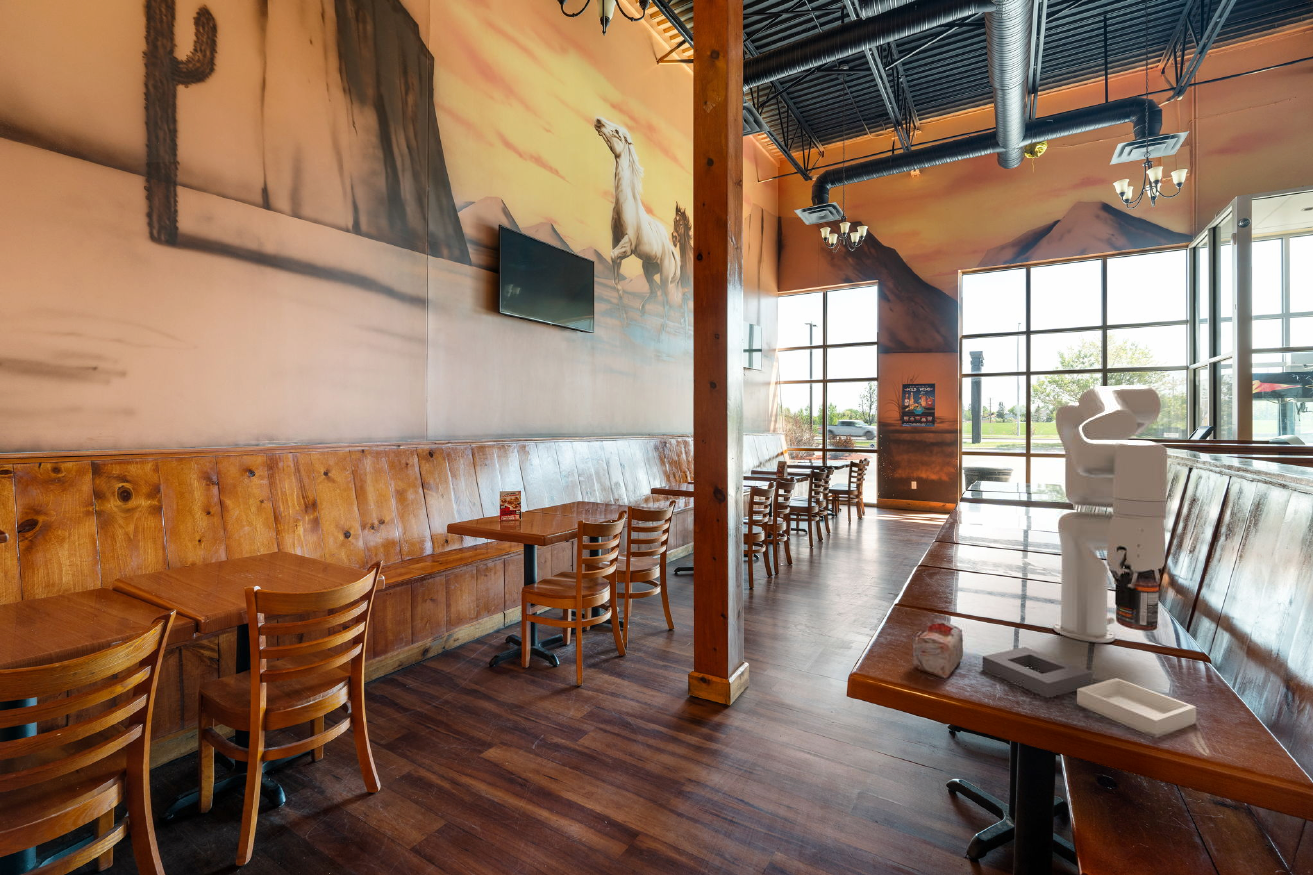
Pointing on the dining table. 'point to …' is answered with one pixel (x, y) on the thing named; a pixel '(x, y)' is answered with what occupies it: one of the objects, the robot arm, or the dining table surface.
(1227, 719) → the dining table surface
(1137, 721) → the tray
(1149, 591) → the supplement bottle
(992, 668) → the frame
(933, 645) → the food item
